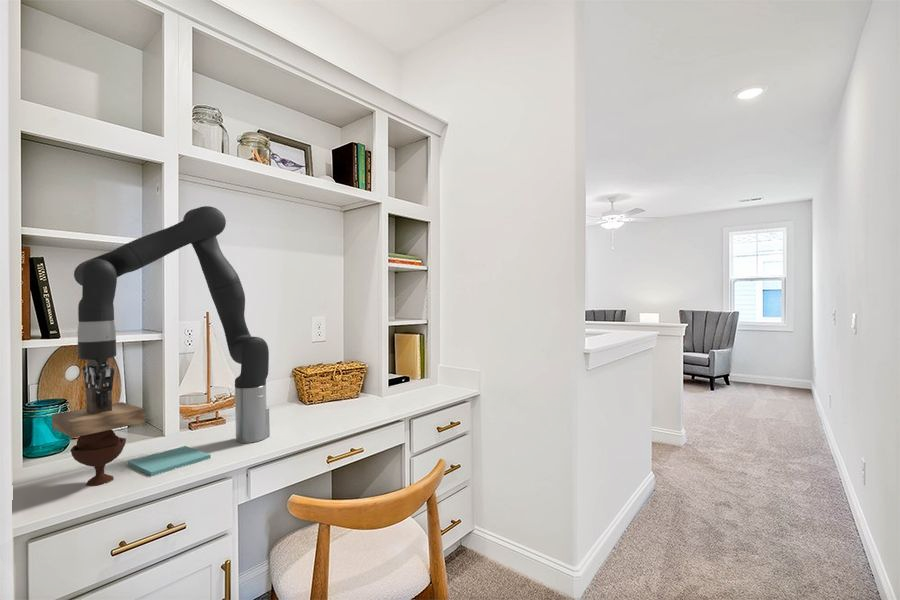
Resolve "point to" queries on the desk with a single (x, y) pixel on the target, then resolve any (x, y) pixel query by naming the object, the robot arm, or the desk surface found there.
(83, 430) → the walnut cover
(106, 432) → the ice cream bowl
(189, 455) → the teal mat
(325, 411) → the desk surface
